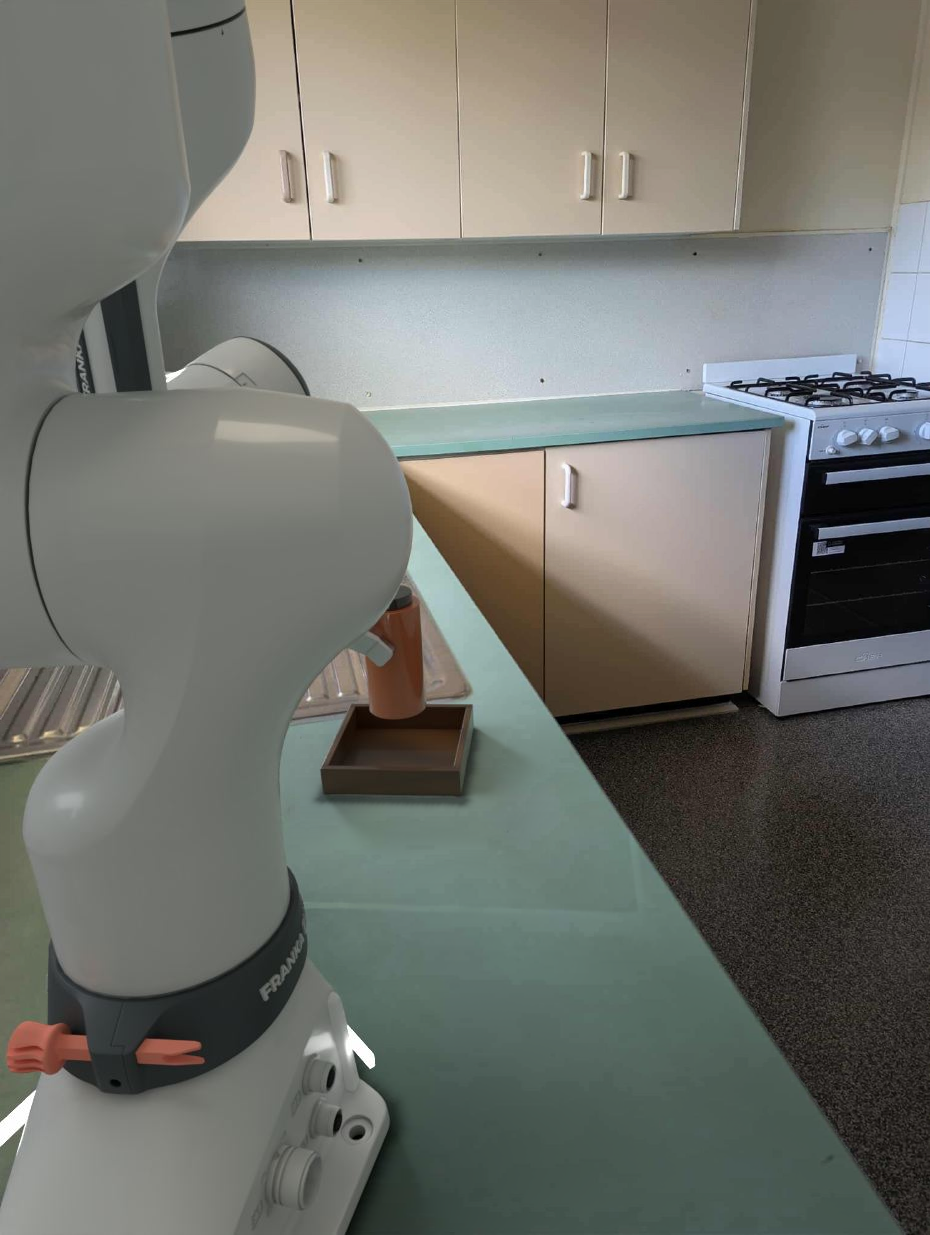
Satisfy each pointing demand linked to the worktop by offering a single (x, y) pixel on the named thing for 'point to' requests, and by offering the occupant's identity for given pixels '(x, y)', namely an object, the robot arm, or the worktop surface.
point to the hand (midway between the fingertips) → (400, 643)
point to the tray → (400, 752)
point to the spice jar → (399, 661)
